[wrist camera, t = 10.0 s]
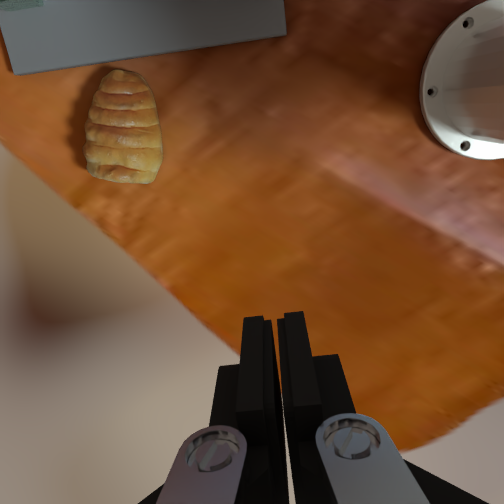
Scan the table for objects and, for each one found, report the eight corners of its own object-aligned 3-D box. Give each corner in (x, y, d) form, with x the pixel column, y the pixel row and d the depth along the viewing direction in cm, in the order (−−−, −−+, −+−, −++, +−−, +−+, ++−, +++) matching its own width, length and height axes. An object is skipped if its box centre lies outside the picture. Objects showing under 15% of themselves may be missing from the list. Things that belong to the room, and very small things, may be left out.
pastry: (91, 66, 37) (73, 62, 33) (169, 76, 37) (159, 73, 33) (91, 175, 40) (75, 182, 36) (164, 184, 40) (154, 192, 36)
